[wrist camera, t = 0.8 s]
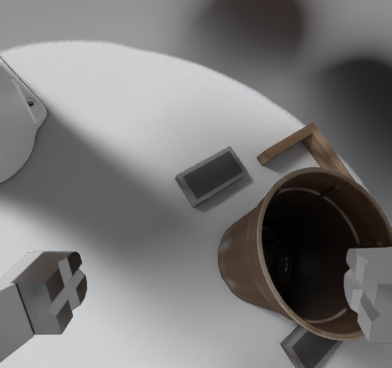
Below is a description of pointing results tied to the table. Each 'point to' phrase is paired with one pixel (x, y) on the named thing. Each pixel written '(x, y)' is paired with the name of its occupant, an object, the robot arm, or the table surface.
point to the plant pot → (304, 249)
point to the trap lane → (233, 170)
